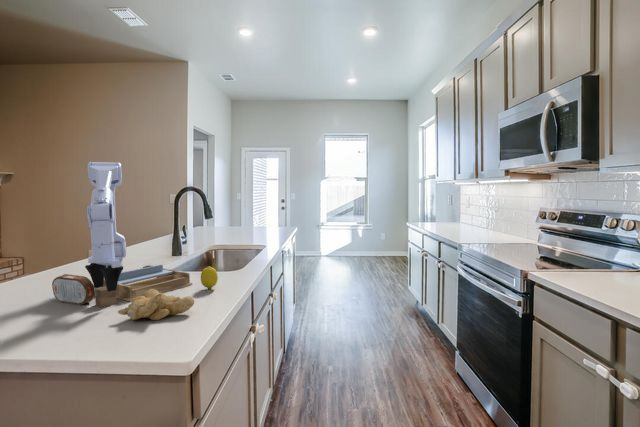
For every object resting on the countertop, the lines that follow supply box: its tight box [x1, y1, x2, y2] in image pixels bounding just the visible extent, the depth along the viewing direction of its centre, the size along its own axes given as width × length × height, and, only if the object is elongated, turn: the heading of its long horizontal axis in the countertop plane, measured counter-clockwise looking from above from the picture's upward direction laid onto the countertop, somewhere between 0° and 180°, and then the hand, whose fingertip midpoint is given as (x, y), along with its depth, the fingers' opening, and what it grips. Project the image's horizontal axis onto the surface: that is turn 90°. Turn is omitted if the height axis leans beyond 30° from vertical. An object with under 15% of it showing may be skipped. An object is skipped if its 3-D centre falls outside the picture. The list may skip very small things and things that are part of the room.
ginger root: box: [117, 289, 195, 321], centre depth 97 cm, size 16×16×8 cm
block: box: [94, 286, 117, 308], centre depth 108 cm, size 4×4×5 cm
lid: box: [118, 264, 173, 285], centre depth 126 cm, size 8×20×3 cm, turn 147°
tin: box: [51, 273, 96, 306], centre depth 110 cm, size 15×3×8 cm, turn 71°
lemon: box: [200, 265, 219, 290], centre depth 122 cm, size 6×6×8 cm
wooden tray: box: [103, 267, 193, 303], centre depth 124 cm, size 19×23×4 cm
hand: (105, 288), depth 107 cm, fingers open, 7 cm apart
